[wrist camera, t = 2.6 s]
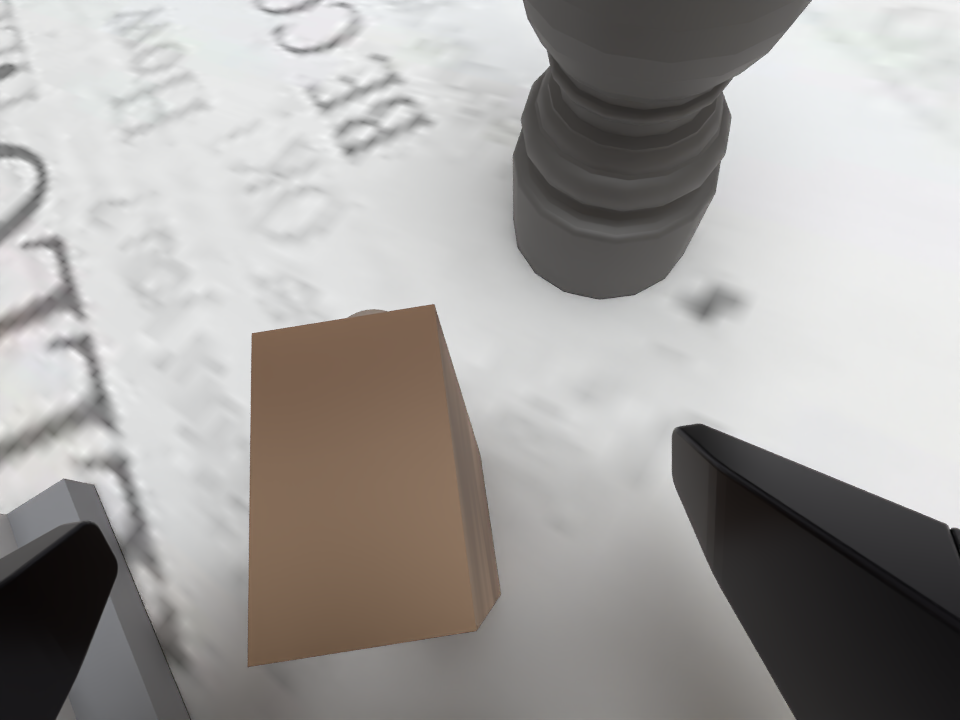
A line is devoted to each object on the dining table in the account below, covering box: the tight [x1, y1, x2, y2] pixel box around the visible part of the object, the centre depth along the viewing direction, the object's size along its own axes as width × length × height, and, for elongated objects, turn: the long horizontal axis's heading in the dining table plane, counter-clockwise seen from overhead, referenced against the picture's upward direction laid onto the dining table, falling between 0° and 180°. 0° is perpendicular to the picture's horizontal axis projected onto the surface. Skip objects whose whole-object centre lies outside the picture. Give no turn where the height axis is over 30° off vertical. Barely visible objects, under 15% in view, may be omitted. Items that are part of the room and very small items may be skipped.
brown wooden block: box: [248, 304, 501, 667], centre depth 11 cm, size 5×2×10 cm, turn 8°
